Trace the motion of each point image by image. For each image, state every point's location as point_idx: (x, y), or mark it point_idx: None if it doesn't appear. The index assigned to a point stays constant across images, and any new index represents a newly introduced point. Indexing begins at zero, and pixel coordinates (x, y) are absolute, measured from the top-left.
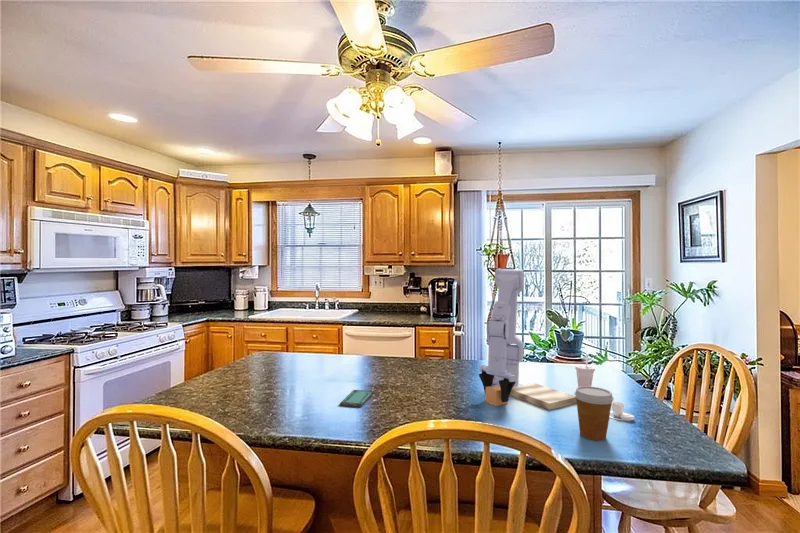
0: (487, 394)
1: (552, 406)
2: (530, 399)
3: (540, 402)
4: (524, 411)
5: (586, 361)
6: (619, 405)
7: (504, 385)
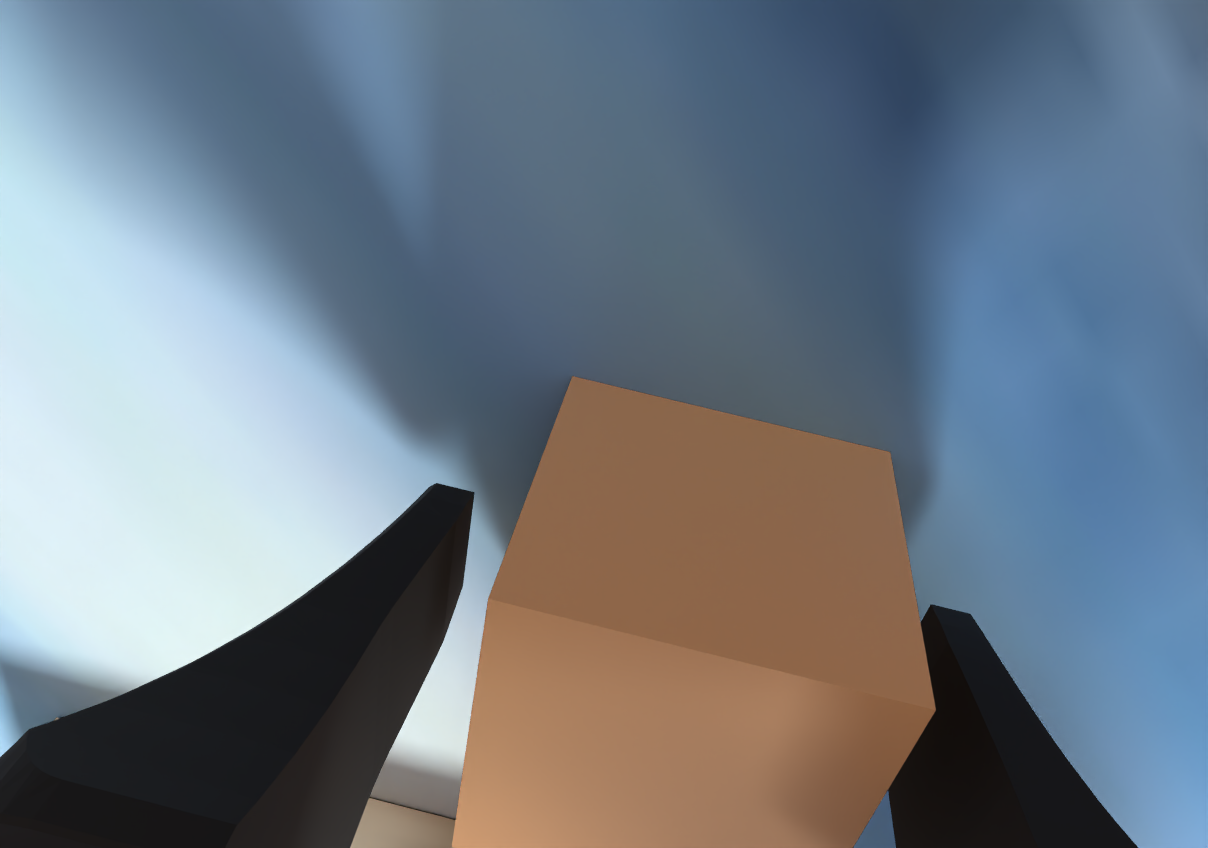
0: (835, 547)
1: None
2: None
3: None
4: (127, 478)
5: None
6: None
7: (47, 724)
